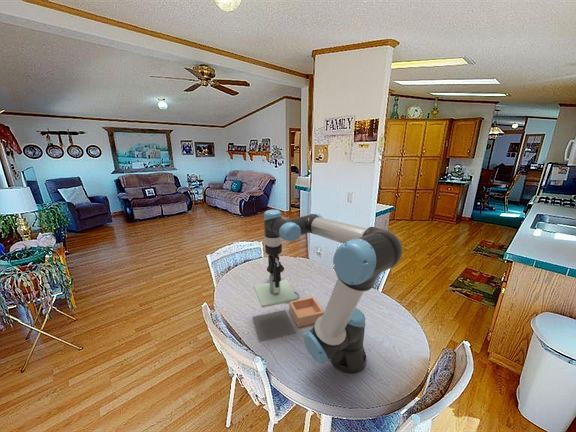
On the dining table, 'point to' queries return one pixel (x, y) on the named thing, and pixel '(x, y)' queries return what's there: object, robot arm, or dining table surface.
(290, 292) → the lid
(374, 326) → the dining table surface
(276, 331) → the mat
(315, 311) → the dish
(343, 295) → the robot arm
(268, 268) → the decorative mushroom
